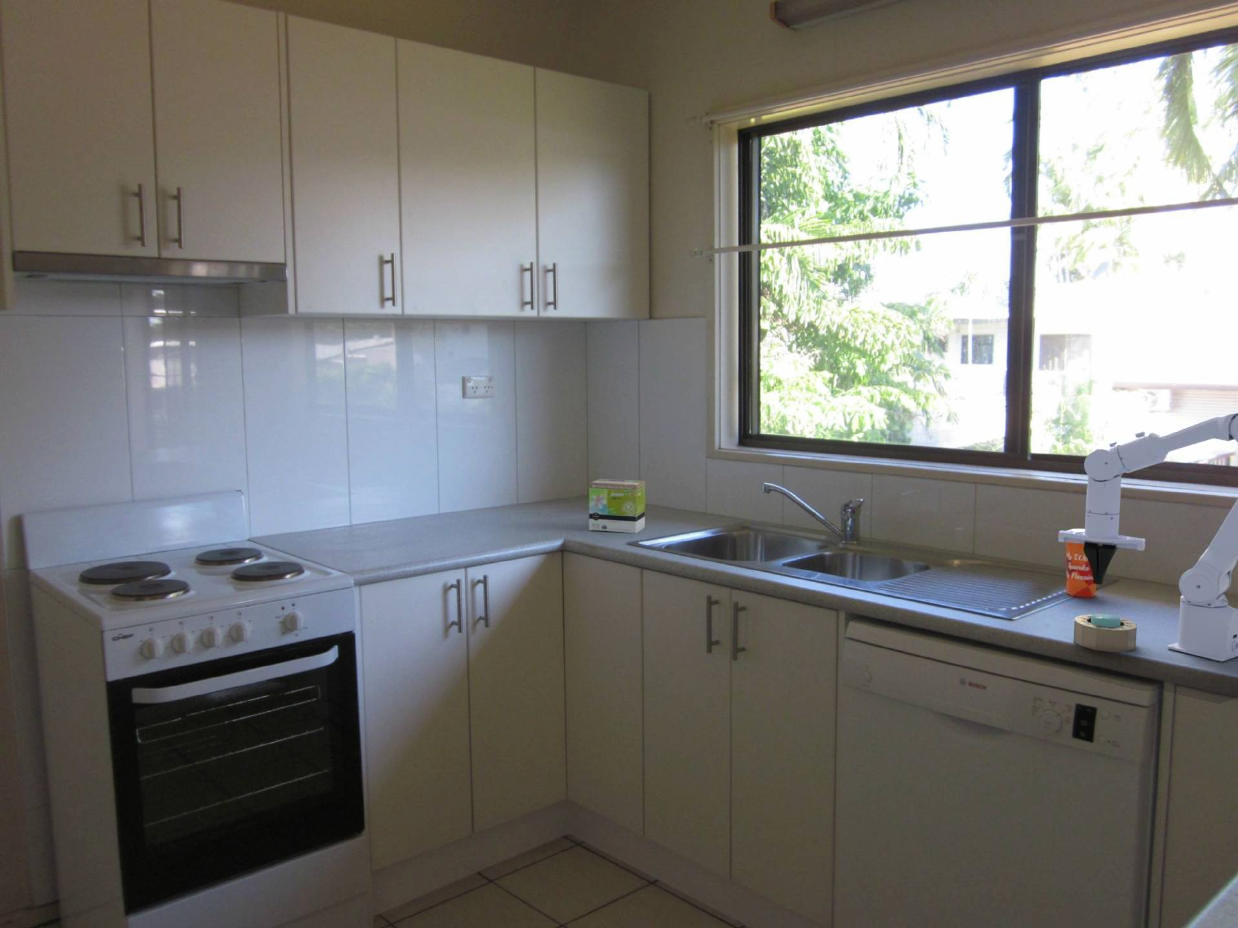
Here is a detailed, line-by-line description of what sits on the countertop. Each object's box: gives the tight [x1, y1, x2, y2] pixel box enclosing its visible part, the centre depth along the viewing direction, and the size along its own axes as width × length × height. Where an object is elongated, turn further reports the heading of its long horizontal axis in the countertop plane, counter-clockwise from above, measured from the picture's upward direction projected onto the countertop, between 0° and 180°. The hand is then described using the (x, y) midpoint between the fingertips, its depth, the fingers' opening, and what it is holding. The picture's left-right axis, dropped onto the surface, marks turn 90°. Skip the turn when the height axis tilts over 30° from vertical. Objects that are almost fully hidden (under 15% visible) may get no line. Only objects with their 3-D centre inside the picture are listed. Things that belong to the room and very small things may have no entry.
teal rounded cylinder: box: [1090, 613, 1122, 627], centre depth 179 cm, size 5×5×5 cm
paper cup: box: [1065, 528, 1098, 599], centre depth 214 cm, size 8×8×14 cm
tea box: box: [588, 478, 646, 534], centre depth 294 cm, size 15×10×15 cm, turn 73°
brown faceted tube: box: [1073, 614, 1137, 653], centre depth 179 cm, size 10×10×4 cm
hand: (1098, 583), depth 186 cm, fingers closed
